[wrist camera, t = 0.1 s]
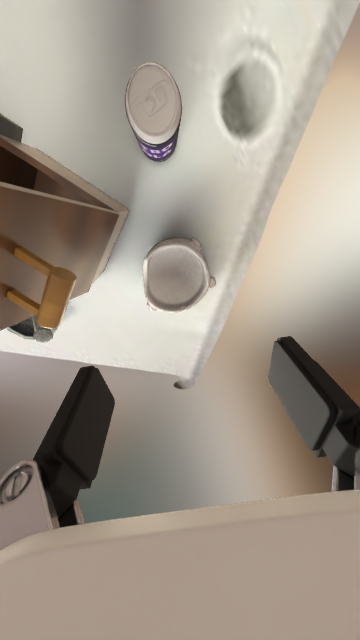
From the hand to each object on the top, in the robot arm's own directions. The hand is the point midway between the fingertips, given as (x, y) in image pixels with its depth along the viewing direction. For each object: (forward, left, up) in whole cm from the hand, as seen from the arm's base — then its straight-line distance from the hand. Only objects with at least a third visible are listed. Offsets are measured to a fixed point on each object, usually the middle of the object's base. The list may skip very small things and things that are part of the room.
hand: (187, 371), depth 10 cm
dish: (+4, +3, -31) cm, 32 cm away
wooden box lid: (+5, -12, -14) cm, 19 cm away
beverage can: (-12, -10, -31) cm, 35 cm away
